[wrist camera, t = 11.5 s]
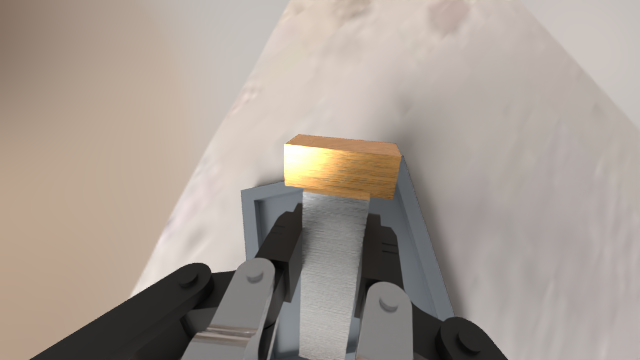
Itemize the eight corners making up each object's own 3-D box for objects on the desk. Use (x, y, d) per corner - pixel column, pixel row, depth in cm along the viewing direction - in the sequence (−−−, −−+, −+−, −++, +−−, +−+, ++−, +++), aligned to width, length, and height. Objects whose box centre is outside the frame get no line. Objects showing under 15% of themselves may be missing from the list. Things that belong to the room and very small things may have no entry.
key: (360, 326, 14) (394, 141, 9) (358, 371, 12) (402, 159, 7) (297, 312, 14) (300, 133, 10) (285, 352, 12) (281, 146, 8)
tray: (398, 162, 19) (402, 155, 17) (455, 344, 15) (467, 354, 13) (248, 194, 19) (240, 190, 18) (264, 374, 16) (256, 387, 14)
